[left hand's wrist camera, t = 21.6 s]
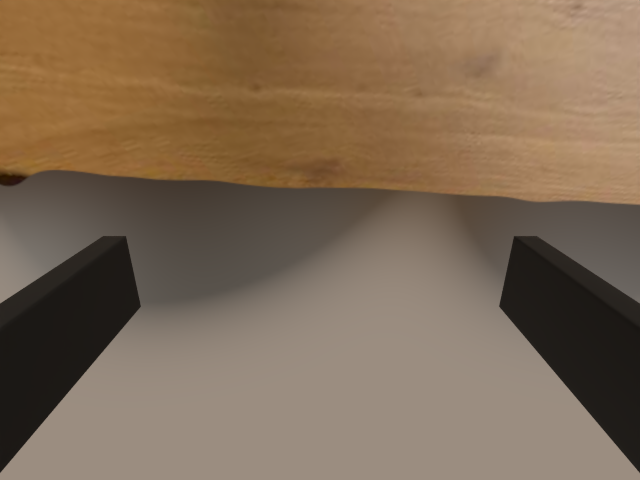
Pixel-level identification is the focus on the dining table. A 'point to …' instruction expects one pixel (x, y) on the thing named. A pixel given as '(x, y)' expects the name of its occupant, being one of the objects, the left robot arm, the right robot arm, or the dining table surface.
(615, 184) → the dining table surface
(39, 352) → the left robot arm
